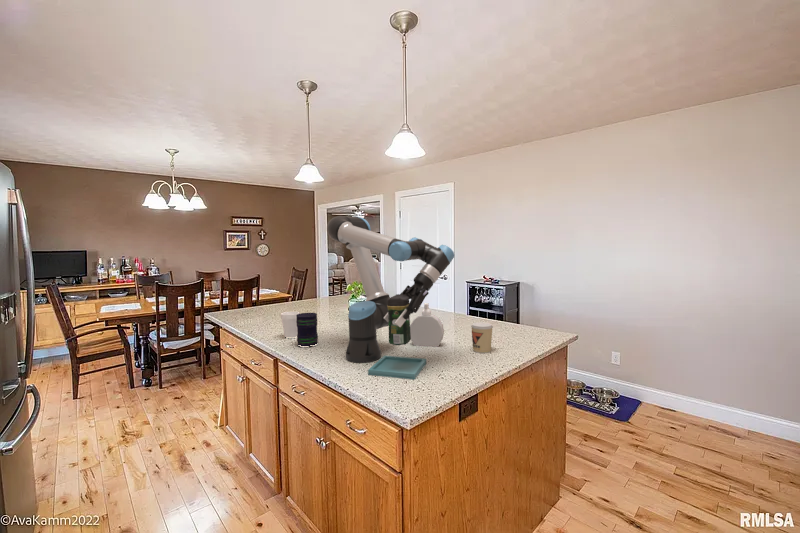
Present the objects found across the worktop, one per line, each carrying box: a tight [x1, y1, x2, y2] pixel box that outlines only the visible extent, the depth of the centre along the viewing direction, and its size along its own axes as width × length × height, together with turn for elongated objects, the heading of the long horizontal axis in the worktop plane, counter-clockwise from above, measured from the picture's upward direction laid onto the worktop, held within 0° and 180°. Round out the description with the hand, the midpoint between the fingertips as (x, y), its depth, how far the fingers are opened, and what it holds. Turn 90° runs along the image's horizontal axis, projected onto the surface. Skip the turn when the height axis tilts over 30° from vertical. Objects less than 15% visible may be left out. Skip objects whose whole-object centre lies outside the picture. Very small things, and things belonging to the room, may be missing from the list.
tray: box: [367, 355, 427, 380], centre depth 145 cm, size 18×18×2 cm
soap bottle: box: [410, 302, 445, 348], centre depth 176 cm, size 16×5×20 cm, turn 75°
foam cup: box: [280, 310, 301, 338], centre depth 194 cm, size 10×9×13 cm
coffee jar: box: [387, 293, 411, 346], centre depth 143 cm, size 10×8×19 cm
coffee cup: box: [470, 321, 494, 354], centre depth 166 cm, size 9×9×12 cm
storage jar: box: [296, 312, 319, 346], centre depth 180 cm, size 10×10×15 cm
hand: (391, 322), depth 142 cm, fingers closed on coffee jar, 9 cm apart
